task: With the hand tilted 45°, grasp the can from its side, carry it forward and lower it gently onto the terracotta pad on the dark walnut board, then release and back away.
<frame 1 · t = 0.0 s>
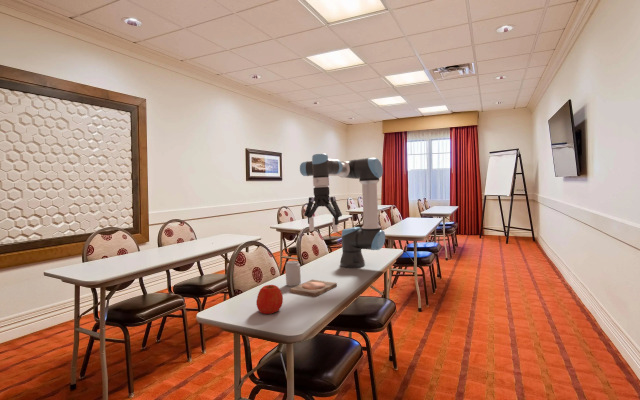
hand: (323, 231, 163), 28 cm above the table, tool pointing down, fingers open, 13 cm apart
apple: (270, 311, 139), on the table
can: (293, 285, 174), on the table
board: (313, 288, 166), on the table
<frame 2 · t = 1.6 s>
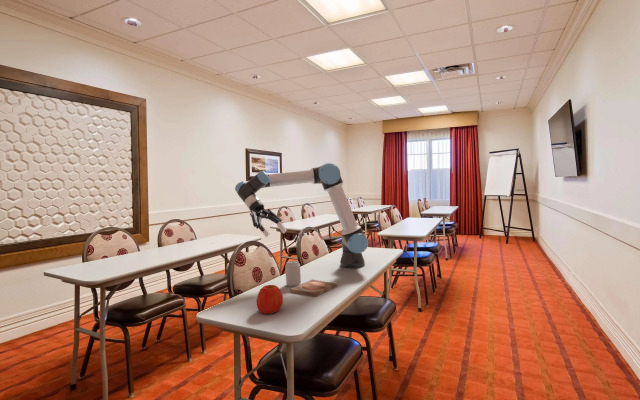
hand: (276, 233, 178), 26 cm above the table, tool tilted 45°, fingers open, 13 cm apart
nothing on the table moved.
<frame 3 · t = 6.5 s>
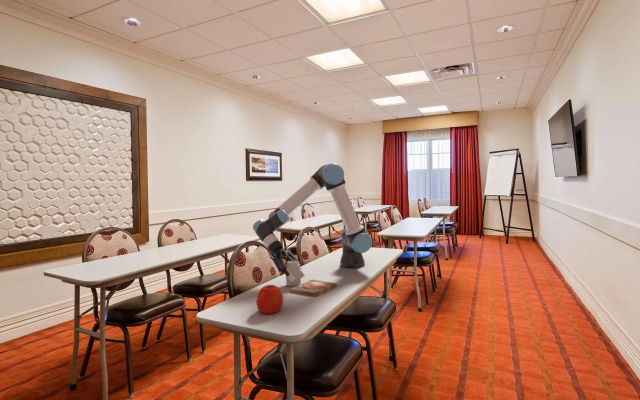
hand: (298, 278, 172), 4 cm above the table, tool tilted 45°, fingers closed on can, 7 cm apart
can: (293, 285, 174), on the table, touching gripper
everything else where it was.
when the fingers open (7 cm above the table, at t = 12.5 s): can drops 1 cm, resting on board.
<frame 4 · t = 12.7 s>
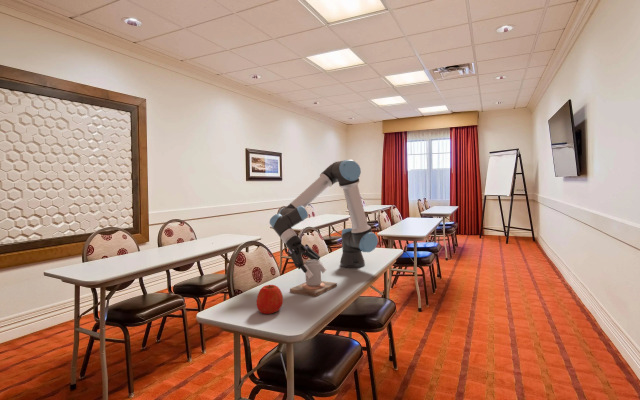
hand: (318, 274, 164), 8 cm above the table, tool tilted 45°, fingers open, 10 cm apart
can: (313, 285, 166), point 2 cm above the table, touching board
everything else where it was.
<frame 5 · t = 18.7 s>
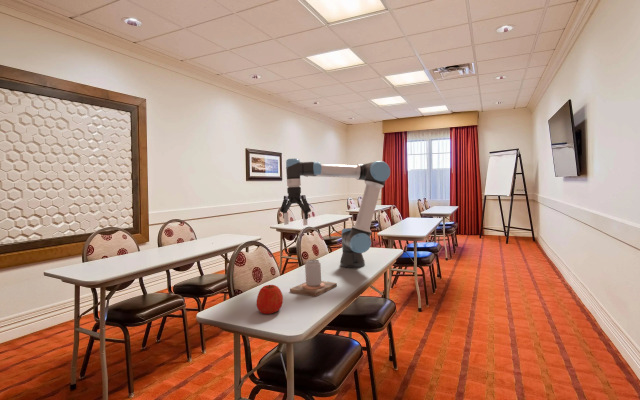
hand: (295, 224, 190), 29 cm above the table, tool pointing down, fingers open, 13 cm apart
nothing on the table moved.
at the end: can 0.1 cm off-centre on the board, point 1.7 cm above the board's base; can tilted 0°; the gripper is holding nothing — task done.
